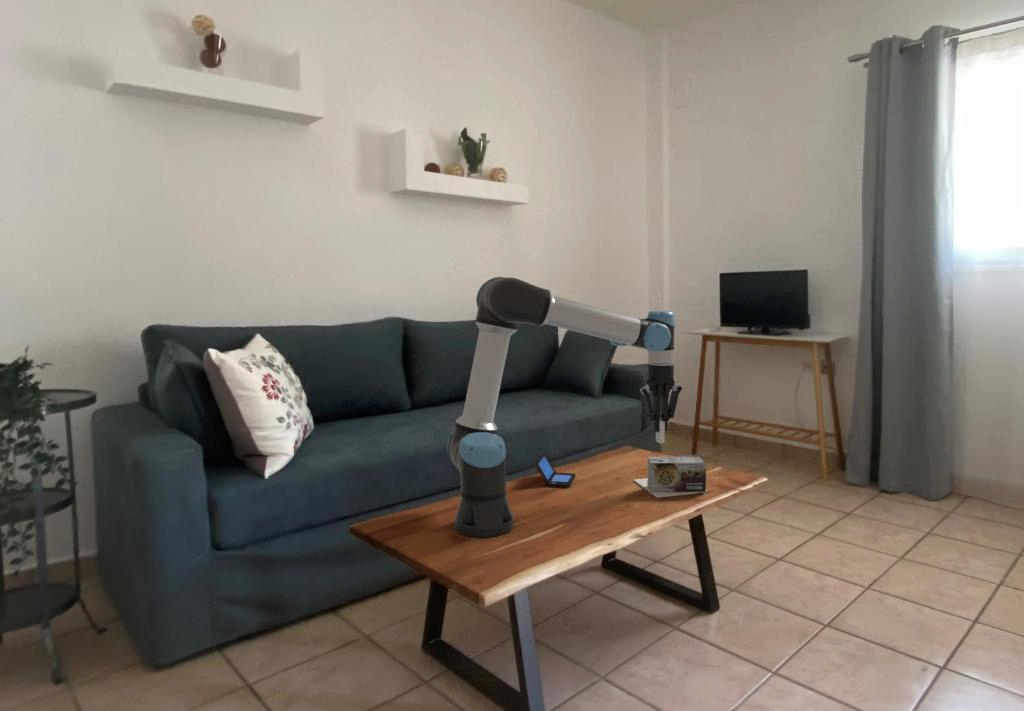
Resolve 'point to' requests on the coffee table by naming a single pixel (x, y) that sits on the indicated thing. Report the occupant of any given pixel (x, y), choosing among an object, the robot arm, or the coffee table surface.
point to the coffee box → (676, 474)
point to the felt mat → (660, 494)
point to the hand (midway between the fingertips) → (660, 442)
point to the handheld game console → (553, 474)
